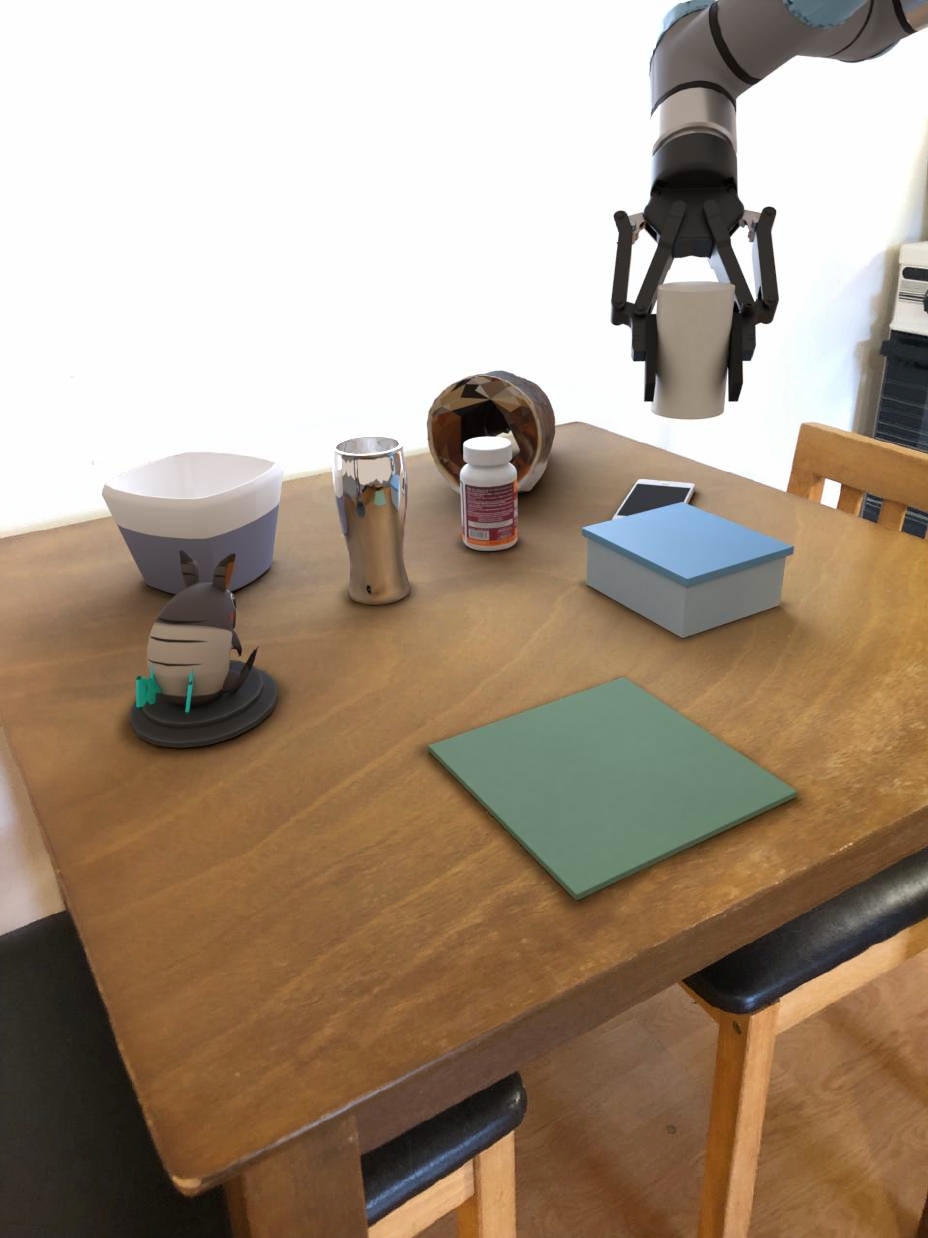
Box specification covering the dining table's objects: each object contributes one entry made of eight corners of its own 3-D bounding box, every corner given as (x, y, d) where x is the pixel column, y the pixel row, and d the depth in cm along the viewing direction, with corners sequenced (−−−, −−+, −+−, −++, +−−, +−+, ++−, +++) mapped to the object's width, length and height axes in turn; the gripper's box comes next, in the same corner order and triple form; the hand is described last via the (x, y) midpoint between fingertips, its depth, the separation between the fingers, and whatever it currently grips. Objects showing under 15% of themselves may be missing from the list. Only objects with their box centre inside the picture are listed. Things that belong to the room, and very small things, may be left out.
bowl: (201, 539, 107) (185, 445, 102) (312, 559, 101) (301, 459, 96) (101, 591, 95) (77, 487, 90) (220, 617, 89) (202, 506, 84)
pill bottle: (527, 546, 102) (527, 445, 97) (476, 556, 100) (474, 454, 95) (502, 528, 107) (500, 431, 102) (453, 538, 105) (449, 440, 100)
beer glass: (360, 575, 97) (347, 432, 90) (423, 581, 95) (415, 436, 88) (333, 603, 91) (317, 453, 84) (400, 610, 89) (389, 457, 82)
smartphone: (695, 489, 117) (695, 482, 117) (673, 532, 104) (674, 524, 104) (638, 485, 119) (638, 477, 119) (610, 526, 107) (611, 518, 106)
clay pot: (573, 363, 131) (538, 364, 108) (581, 472, 135) (550, 496, 112) (472, 375, 136) (418, 378, 112) (482, 480, 139) (432, 505, 116)
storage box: (786, 606, 87) (794, 546, 84) (682, 641, 81) (687, 578, 79) (678, 555, 99) (682, 501, 96) (580, 583, 93) (581, 527, 90)
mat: (796, 797, 62) (797, 791, 61) (576, 901, 54) (576, 894, 54) (623, 681, 76) (623, 676, 75) (428, 751, 68) (428, 745, 68)
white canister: (739, 412, 78) (751, 285, 73) (684, 423, 75) (693, 293, 71) (689, 398, 82) (698, 279, 78) (636, 408, 80) (642, 285, 75)
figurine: (100, 742, 70) (66, 601, 65) (179, 665, 81) (154, 538, 75) (239, 757, 68) (214, 612, 63) (301, 676, 78) (285, 546, 73)
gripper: (796, 190, 84) (805, 417, 77) (583, 197, 87) (573, 416, 79) (815, 122, 77) (827, 364, 70) (583, 132, 79) (572, 366, 72)
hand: (692, 392), depth 74 cm, fingers closed on white canister, 6 cm apart
